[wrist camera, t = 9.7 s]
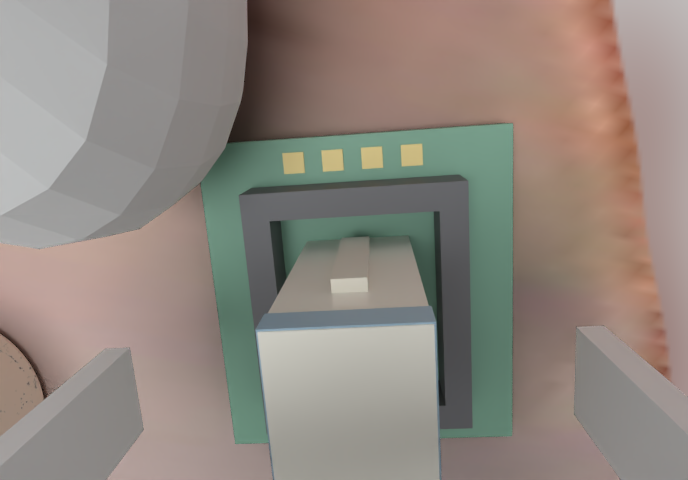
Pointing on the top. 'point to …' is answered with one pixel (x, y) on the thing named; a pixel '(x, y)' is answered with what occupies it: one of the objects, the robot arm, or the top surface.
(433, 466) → the plug
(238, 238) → the header board
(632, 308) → the top surface
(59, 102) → the white round bottle
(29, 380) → the teacup with lid
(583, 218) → the top surface
